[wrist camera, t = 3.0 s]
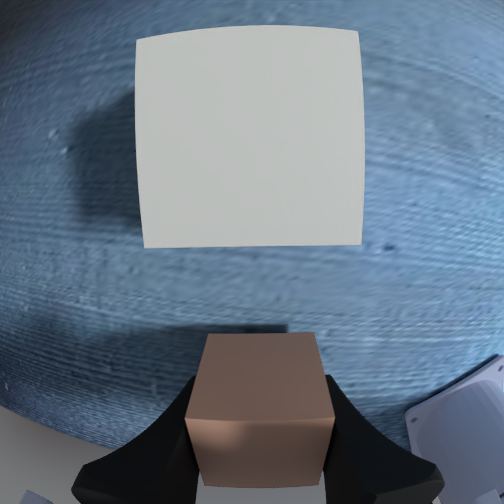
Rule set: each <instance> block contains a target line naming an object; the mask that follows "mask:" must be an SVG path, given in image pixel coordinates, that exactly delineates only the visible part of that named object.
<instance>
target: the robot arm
mask: <svg viewBox="0 0 504 504" xmlns="http://www.w3.org/2000/svg"><path fill="white" fill-rule="evenodd" d="M325 378H326V382H327V386H328V390H329V394H330V398H331V402H332V406H333V410H334V415H335V420H334V424H333V429H332V433H331V438H330V442H329V446H328V450H327V454H326V458H325V462H324V466H323V472H324V479H325V490H326V504H433V503H432V501H433V500H434V499H435V498H436V497H437V496H438V497H439V500H440V502H441V504H504V392H503V391H502V389H503V382H504V355H499V356H498V357H496V358H495V359H494V360H492V361H491V362H489V363H488V364H486V365H485V366H483V367H482V368H480V369H479V370H477V371H476V372H474V373H473V374H471V375H469V376H468V377H466V378H465V379H463V380H461V381H460V382H458V383H456V384H455V385H453V386H451V387H449V388H448V389H446V390H444V391H442V392H441V393H439V394H437V395H435V396H433V397H432V398H430V399H428V400H426V401H424V402H422V403H420V404H418V405H416V406H414V407H412V408H410V409H409V410H407V411H406V413H405V421H406V426H407V431H408V436H409V441H410V446H411V452H412V453H410V452H408V451H407V450H405V449H403V448H402V447H400V446H399V445H397V444H395V443H394V442H392V441H391V440H389V439H388V438H387V437H386V436H384V435H383V434H382V433H380V432H379V431H378V430H377V429H376V428H375V427H374V426H372V425H371V424H370V423H369V422H368V421H367V420H366V419H365V418H364V417H363V416H362V415H361V414H360V412H359V411H358V410H357V409H356V408H355V407H354V406H353V404H352V403H351V402H350V401H349V400H348V398H347V397H346V396H345V395H344V393H343V392H342V391H341V389H340V388H339V386H338V385H337V383H336V382H335V380H334V379H333V377H332V376H331V375H325ZM195 379H196V376H193V377H192V378H191V379H190V380H189V381H188V383H187V384H186V386H185V387H184V388H183V390H182V391H181V392H180V394H179V395H178V396H177V397H176V399H175V400H174V401H173V402H172V403H171V405H170V406H169V407H168V408H167V409H166V410H165V411H164V412H163V413H162V414H161V415H160V416H159V418H158V419H157V420H156V421H155V422H153V423H152V424H151V425H150V426H149V427H148V428H147V429H146V430H144V431H143V432H142V433H141V434H140V435H138V436H137V437H136V438H134V439H133V440H131V441H130V442H129V443H127V444H126V445H124V446H123V447H121V448H119V449H117V450H116V451H114V452H112V453H110V454H108V455H106V456H104V457H102V458H100V459H97V460H95V461H93V462H90V463H88V464H85V465H83V467H82V469H81V470H80V472H79V474H78V476H77V478H76V480H75V482H74V484H73V486H72V488H71V491H72V494H73V495H74V496H75V498H76V499H77V500H78V501H79V502H80V503H81V504H195V501H196V492H197V484H198V476H199V471H200V469H199V466H198V463H197V460H196V456H195V453H194V450H193V446H192V443H191V439H190V436H189V432H188V428H187V425H186V421H185V416H186V412H187V408H188V405H189V401H190V397H191V394H192V390H193V387H194V383H195ZM20 504H53V503H52V502H50V501H49V500H47V499H45V498H43V497H41V496H39V495H37V494H35V493H33V492H31V491H29V490H26V492H25V494H24V496H23V498H22V500H21V502H20Z"/></svg>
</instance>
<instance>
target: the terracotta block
mask: <svg viewBox="0 0 504 504" xmlns="http://www.w3.org/2000/svg"><path fill="white" fill-rule="evenodd" d="M334 420H335V415H334V410H333V406H332V402H331V398H330V394H329V390H328V386H327V382H326V378H325V374H324V370H323V366H322V362H321V358H320V354H319V350H318V346H317V343H316V339H315V335H314V332H301V333H267V334H208V337H207V340H206V344H205V347H204V351H203V355H202V358H201V362H200V365H199V369H198V372H197V376H196V379H195V383H194V387H193V390H192V394H191V397H190V401H189V405H188V408H187V412H186V416H185V421H186V425H187V428H188V432H189V436H190V439H191V443H192V446H193V450H194V453H195V456H196V460H197V463H198V466H199V469H200V473H201V475H202V479H203V482H204V485H205V486H218V487H237V488H279V487H300V486H313V485H318V484H319V480H320V477H321V473H322V469H323V466H324V462H325V458H326V454H327V450H328V446H329V442H330V438H331V433H332V429H333V424H334Z"/></svg>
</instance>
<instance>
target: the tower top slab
mask: <svg viewBox="0 0 504 504" xmlns="http://www.w3.org/2000/svg"><path fill="white" fill-rule="evenodd" d="M135 134H136V158H137V175H138V189H139V201H140V212H141V222H142V231H143V240H144V248H177V247H235V246H302V245H361V239H362V224H363V205H364V172H365V133H364V101H363V83H362V69H361V57H360V47H359V37H358V31H351V30H342V29H333V28H322V27H308V26H281V25H261V26H234V27H220V28H209V29H199V30H191V31H183V32H177V33H170V34H164V35H159V36H153V37H148V38H143V39H138V40H137V44H136V67H135Z"/></svg>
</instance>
